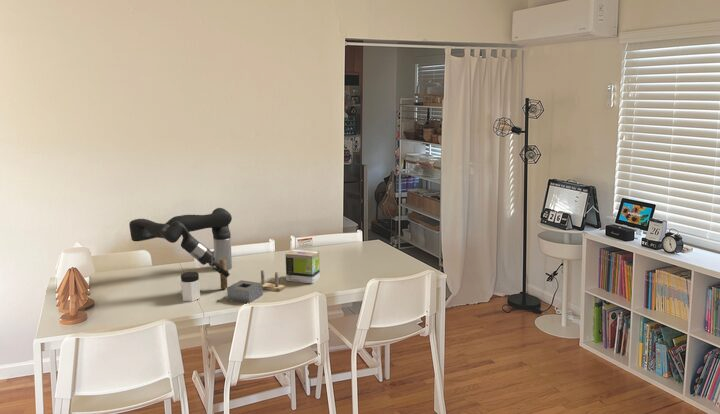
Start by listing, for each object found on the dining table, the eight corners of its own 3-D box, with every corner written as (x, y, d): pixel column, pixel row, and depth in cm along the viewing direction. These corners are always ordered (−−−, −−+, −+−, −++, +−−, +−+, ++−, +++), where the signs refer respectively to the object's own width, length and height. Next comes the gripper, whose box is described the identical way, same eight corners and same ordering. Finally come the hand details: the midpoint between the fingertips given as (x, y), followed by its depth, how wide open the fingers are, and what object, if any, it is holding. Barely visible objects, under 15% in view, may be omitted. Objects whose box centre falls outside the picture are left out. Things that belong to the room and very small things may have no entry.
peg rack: (255, 287, 308) (254, 271, 307) (260, 284, 313) (260, 268, 311) (279, 291, 303) (279, 275, 301) (284, 288, 308) (284, 272, 306)
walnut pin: (219, 288, 305) (218, 260, 302) (223, 286, 308) (222, 259, 305) (225, 289, 304) (223, 261, 301) (228, 286, 307) (227, 259, 304)
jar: (194, 294, 300) (192, 270, 297) (204, 297, 295) (202, 273, 292) (178, 299, 293) (176, 274, 290) (188, 303, 288) (186, 278, 285)
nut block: (227, 299, 292) (226, 287, 291) (241, 291, 303) (241, 280, 301) (249, 303, 287) (248, 291, 286) (262, 295, 298) (262, 283, 297)
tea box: (320, 278, 323) (319, 251, 320) (312, 284, 314) (312, 256, 311) (294, 275, 328) (293, 248, 325) (285, 281, 319) (284, 253, 316)
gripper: (194, 255, 305) (220, 276, 312) (197, 263, 292) (224, 284, 299) (205, 243, 306) (231, 264, 312) (207, 251, 293) (235, 273, 299)
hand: (227, 274), depth 305 cm, fingers closed on walnut pin, 3 cm apart
